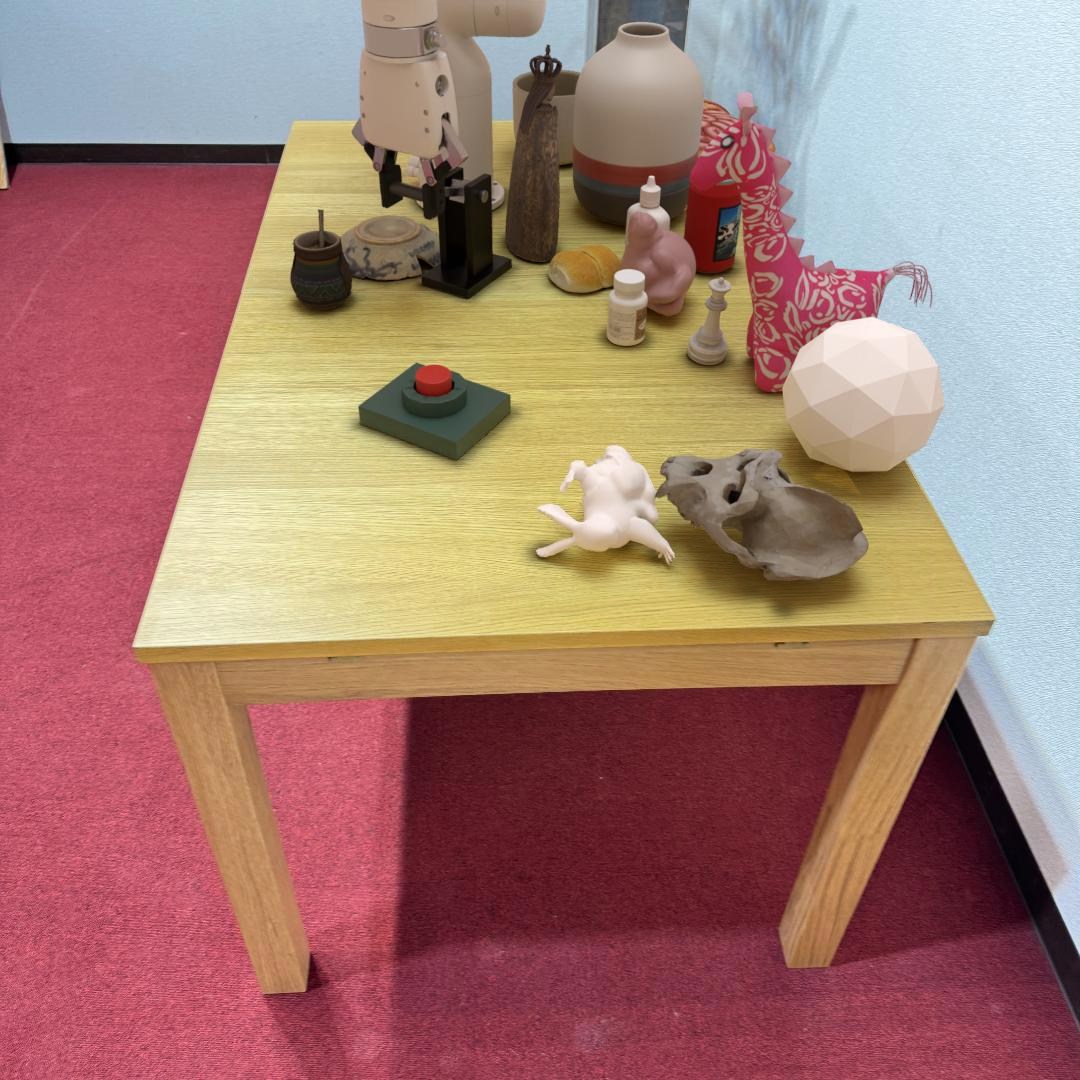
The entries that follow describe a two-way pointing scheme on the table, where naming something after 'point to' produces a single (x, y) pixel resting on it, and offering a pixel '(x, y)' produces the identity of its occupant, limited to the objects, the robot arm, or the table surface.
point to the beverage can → (713, 225)
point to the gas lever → (415, 192)
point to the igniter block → (435, 413)
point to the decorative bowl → (389, 248)
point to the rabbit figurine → (609, 507)
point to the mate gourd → (320, 269)
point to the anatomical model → (716, 124)
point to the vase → (636, 123)
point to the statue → (536, 170)
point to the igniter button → (433, 380)
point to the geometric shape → (863, 395)
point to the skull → (765, 514)
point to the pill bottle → (627, 308)
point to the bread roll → (584, 268)
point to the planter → (561, 99)
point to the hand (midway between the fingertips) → (413, 208)
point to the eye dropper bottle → (649, 206)
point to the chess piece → (711, 328)
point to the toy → (784, 254)
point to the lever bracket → (466, 241)
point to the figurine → (659, 263)
